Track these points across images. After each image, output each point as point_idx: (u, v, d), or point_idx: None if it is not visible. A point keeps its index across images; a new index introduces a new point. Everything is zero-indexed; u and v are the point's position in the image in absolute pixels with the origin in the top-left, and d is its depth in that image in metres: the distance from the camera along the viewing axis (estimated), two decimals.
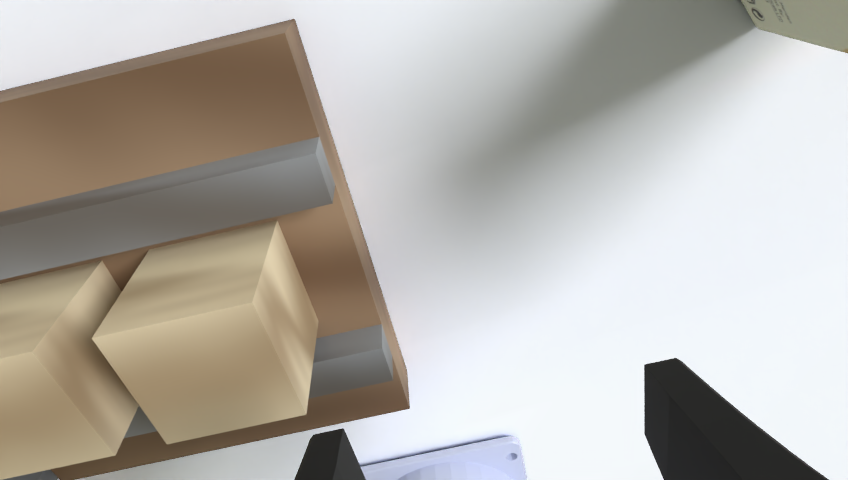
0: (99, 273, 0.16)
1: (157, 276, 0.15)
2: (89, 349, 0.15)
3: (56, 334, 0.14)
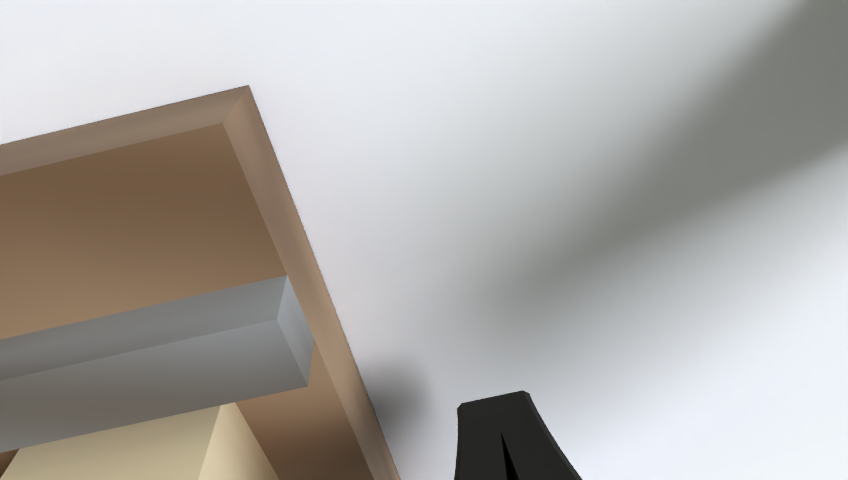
0: None
1: None
2: None
3: None
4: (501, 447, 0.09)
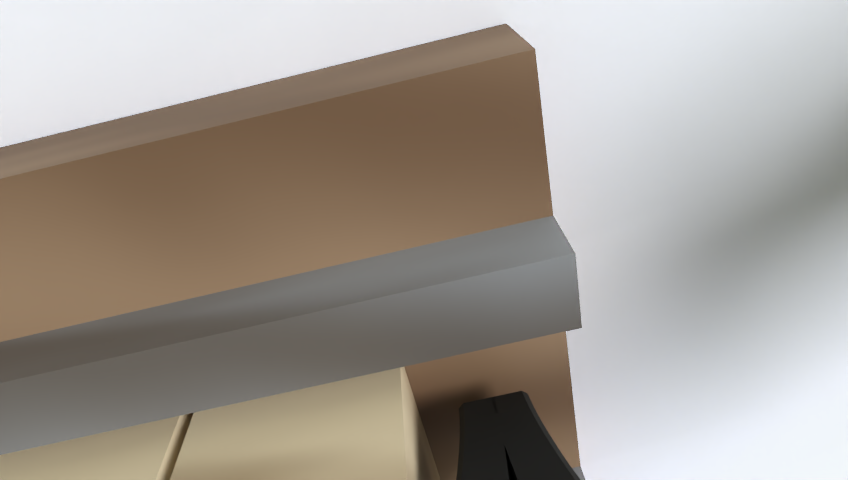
0: (184, 420, 0.11)
1: (222, 462, 0.09)
2: None
3: None
4: (503, 446, 0.09)
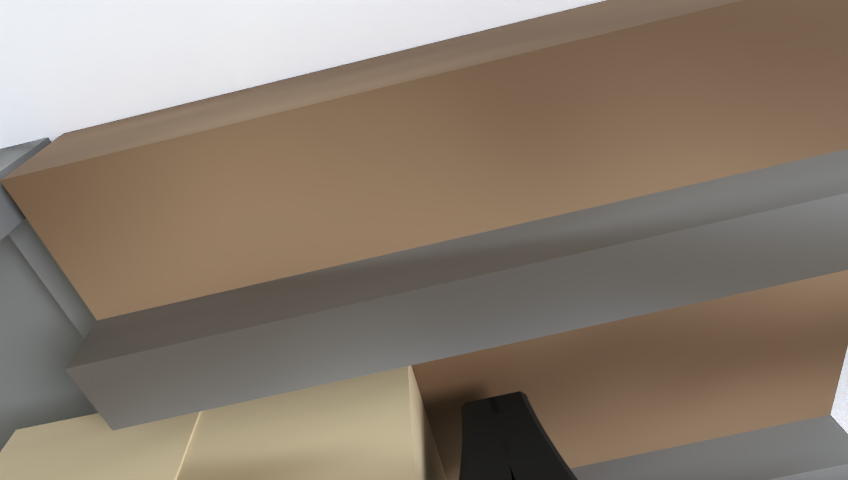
0: None
1: (229, 460, 0.09)
2: None
3: None
4: (506, 446, 0.09)
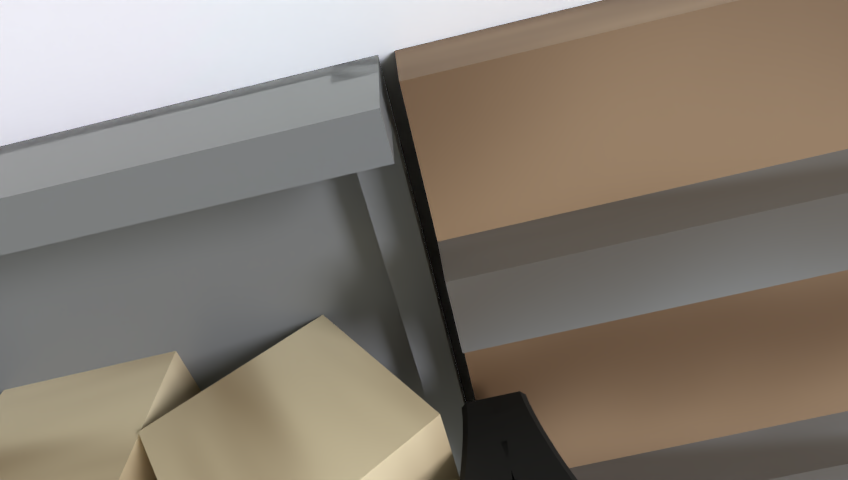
0: (174, 370, 0.12)
1: (266, 382, 0.10)
2: None
3: None
4: (506, 446, 0.09)
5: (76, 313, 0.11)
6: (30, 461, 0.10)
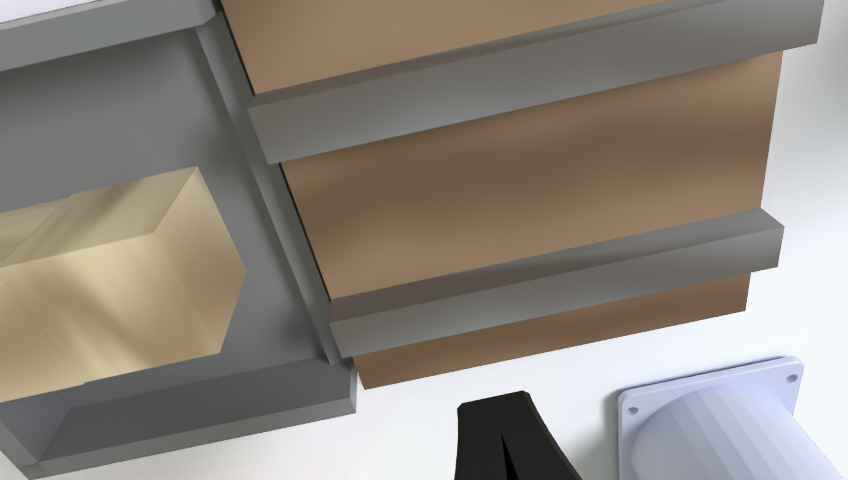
0: None
1: (131, 191, 0.16)
2: None
3: None
4: (501, 447, 0.09)
5: (20, 158, 0.16)
6: None
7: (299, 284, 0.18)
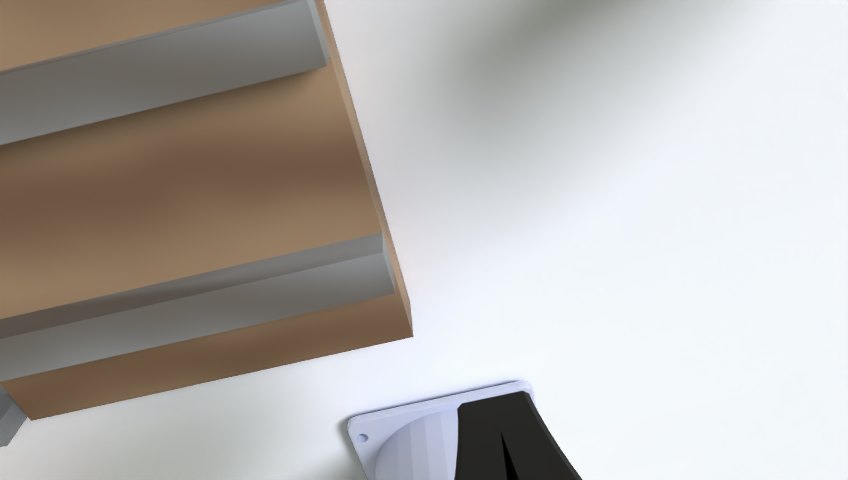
0: None
1: None
2: None
3: None
4: (501, 447, 0.09)
5: None
6: None
7: None
